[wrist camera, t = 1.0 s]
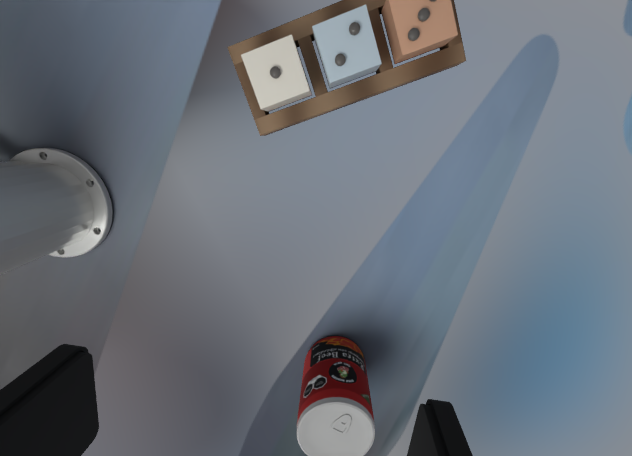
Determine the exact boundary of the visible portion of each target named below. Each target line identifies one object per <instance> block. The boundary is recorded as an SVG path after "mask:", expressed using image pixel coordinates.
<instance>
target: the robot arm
mask: <svg viewBox="0 0 632 456" xmlns="http://www.w3.org/2000/svg"><path fill="white" fill-rule="evenodd" d="M112 213H113V211H112V203H111V199H110V196H109V193H108V190H107V188H106V187H105V185H104V183H103V181H102V180H101V178H100V177H99V176H98V174H97V173H96V172H95V171H94V170H93V169H92V168H91V167H90V166H89V165H88V164H87V163H86V162H84V161H83V160H82V159H80V158H79V157H77V156H75V155H73V154H71V153H69V152H66V151H63V150H59V149H54V148H34V149H29V150H25V151H23V152H21V153H19V154H16V155H15V156H14V157H13V158H11V159H10V160H9V161H8V162H2V161H0V275H2V274H4V273H6V272H9V271H11V270H13V269H16V268H18V267H20V266H23V265H25V264H27V263H30V262H32V261H34V260H36V259H39V258H41V257H43V256H46V255H52V256H55V257H65V258H66V257H76V256H79V255H82V254H85V253H87V252H89V251H91V250H93V249H94V248H96V247H97V246H99V245H100V244H101V243H102V241H103V240H104V239H105V238H106V236H107V234H108V232H109V230H110V227H111V223H112ZM98 429H99V422H98V412H97V402H96V391H95V381H94V370H93V360H92V355H91V354H90V353H88V349H87V348H86V347H81V346H75V345H68V344H63V345H60V346H59V347H57V348H56V349H55V350H53V351H52V352H51V353H49V354H48V355H47V356H45V357H44V358H43V359H41V360H40V361H39V362H37V363H36V364H35V365H33V366H32V367H31V368H29V369H28V370H27V371H25V372H24V373H23V374H21V375H20V376H19V377H17V378H16V379H15V380H13V381H12V382H11V383H9V384H8V385H7V386H5V387H4V388H3V389H1V390H0V456H81V455H82V454H83V453H84V451H85V450H86V449H87V448H88V447H89V445H90V444H91V443H92V442H93V440H94V439H95V437H96V435H97V432H98ZM407 456H472V453H471V451H470V448H469V446H468V443H467V441H466V438H465V436H464V433H463V431H462V428H461V426H460V423H459V421H458V418H457V416H456V413H455V411H454V408H453V406H452V404H451V403H450V402H445V401H438V400H432V399H428V400H427V402H426V404H420V407H419V410H418V414H417V418H416V422H415V426H414V430H413V434H412V438H411V442H410V446H409V450H408V454H407Z"/></svg>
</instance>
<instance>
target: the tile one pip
mask: <svg viewBox="0 0 632 456" xmlns="http://www.w3.org/2000/svg"><path fill="white" fill-rule="evenodd" d="M241 57H242V59H243V62H244V65H245V68H246V70H247V73H248V76H249V79H250V81H251V84H252V87H253V89H254V92H255V95H256V98H257V100H258V103H259V106H260V109H262V110H265V111H268V112H269V111H271V110H274V109H276V108H279V107H282V106H285V105H287V104H290V103H293V102H295V101H298V100H300V99H303V98H306V97H309V96H311V95H312V93H311V90H310V87H309V84H308V81H307V78H306V75H305V72H304V68H303V65H302V63H301V59H300V56H299V53H298V50H297V47H296V44H295V42H294V39H293V37H292V34H291V35H289V36H286V37H284V38H281V39H279V40H276V41H274V42H271V43H269V44H266V45H264V46H262V47H259V48H257V49H254V50H252V51H249V52H247V53H244V54H242V55H241Z"/></svg>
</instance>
